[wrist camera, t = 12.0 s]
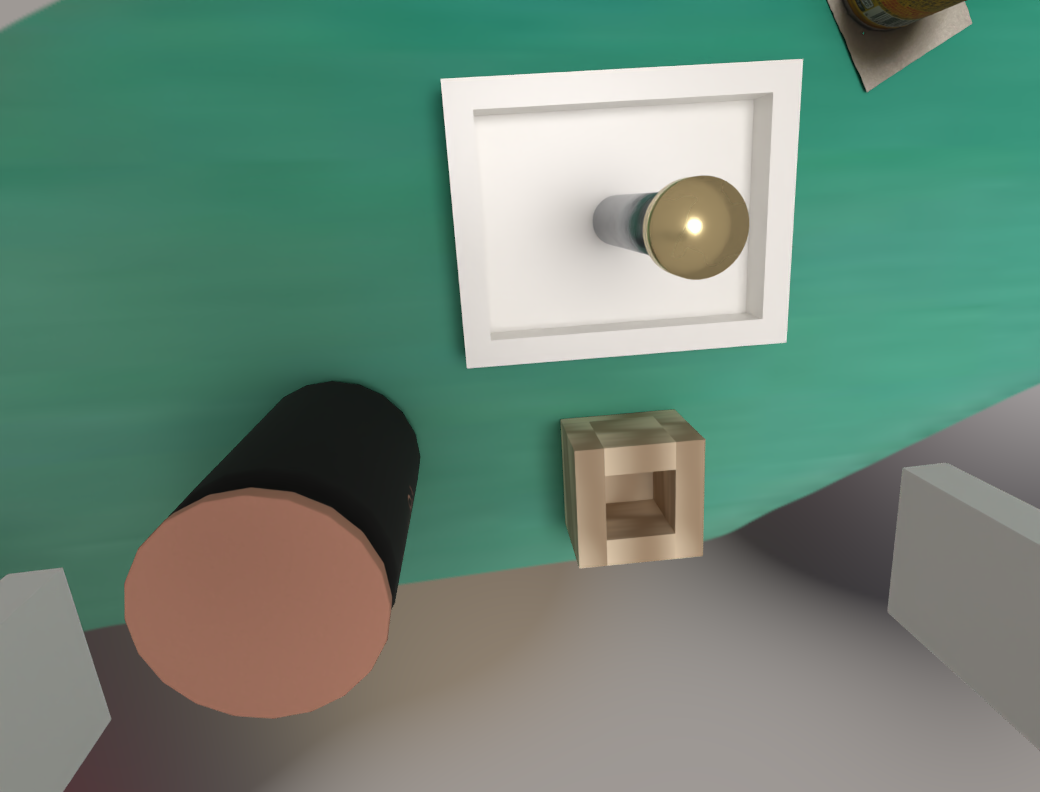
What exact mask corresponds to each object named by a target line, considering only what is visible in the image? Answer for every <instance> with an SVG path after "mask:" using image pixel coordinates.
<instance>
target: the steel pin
mask: <svg viewBox="0 0 1040 792" xmlns="http://www.w3.org/2000/svg"><path fill="white" fill-rule="evenodd" d="M593 228H594V231H595V233H596V235H597V236H598V238H599V239H600V240H602V241H603V242H605V243H607V244H609V245H613V246H617V247H620V248H624V249H628V250H631V251H635V252H639V253H642V254H646V255H649V256H650V257H651V259H652V260H653V261H654V263H655V264H656V265H657V266H659V267H660V268H661V269H662V270H664V271H666V272H668V273H670V274H673V275H676V276H679V277H682V278H685V279H691V280H700V279H706V278H710V277H713V276H715V275H718V274H719V273H721V272H723V271H724V270H726V269H727V268H728V267H730V266H731V265H732V264H733V263H734V262H735V260H736V259H737V258H738V257H739V255H740V254H741V252H742V250H743V248H744V246H745V244H746V241H747V237H748V233H749V213H748V209H747V206H746V203H745V201H744V199H743V197H742V196H741V194H740V193H739V192H738V190H737V189H736V188H735V187H734V186H733V185H731V184H730V183H728V182H727V181H725V180H723V179H721V178H718V177H714V176H705V175H701V176H693V177H686V178H682V179H678V180H676V181H673V182H671V183H670V184H668V185H666V186H665V187H664V188H663V189H661V190H660V191H659V192H652V193H638V194H624V195H613V196H610V197H607V198H605V199H604V200H603V201H601V202H600V203H599V205H598V206H597V208H596V209H595V212H594V215H593Z"/></svg>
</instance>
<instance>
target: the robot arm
mask: <svg viewBox="0 0 1040 792" xmlns="http://www.w3.org/2000/svg"><path fill="white" fill-rule="evenodd" d="M888 613H889V614H890V615H891V616H892V617H893V618H895V619H896V620H897V621H898V622H899V623H900V624H901V625H902V626H903V627H904V628H906V629H907V630H908V631H909V632H910V633H911V634H912V635H913V636H914V637H915V638H917V639H918V640H919V641H920V642H921V643H922V644H923V645H924V646H925V647H926V648H928V649H929V650H930V651H931V652H932V653H933V654H934V655H935V656H936V657H937V658H938V659H940V660H941V661H942V662H943V663H944V664H945V665H946V666H947V667H948V668H950V669H951V670H952V671H953V672H954V673H955V674H956V675H957V676H958V677H959V678H960V679H962V680H963V681H964V682H965V683H966V684H967V685H968V686H969V687H970V688H971V689H973V690H974V691H975V692H976V693H977V694H978V695H979V696H980V697H981V698H982V699H984V700H985V701H986V702H987V703H988V704H989V705H990V706H991V707H992V708H993V709H994V710H996V711H997V712H998V713H999V714H1000V715H1001V716H1002V717H1003V718H1004V719H1005V720H1007V721H1008V722H1009V723H1010V724H1011V725H1012V726H1013V727H1014V728H1015V729H1016V730H1018V731H1019V732H1020V733H1021V734H1022V735H1023V736H1024V737H1025V738H1026V739H1028V741H1030V742H1031V743H1032V744H1033V745H1034V746H1035V747H1036V748H1037V749H1038V750H1040V510H1039V509H1037V508H1035V507H1033V506H1031V505H1029V504H1027V503H1025V502H1023V501H1022V500H1020V499H1017V498H1016V497H1014V496H1011V495H1010V494H1008V493H1006V492H1004V491H1001V490H999V489H998V488H996V487H994V486H992V485H990V484H988V483H985V482H984V481H982V480H980V479H978V478H976V477H974V476H972V475H970V474H968V473H966V472H963V471H962V470H960V469H958V468H956V467H954V466H952V465H950V464H948V463H940V464H932V465H923V466H915V467H906V468H903V471H902V479H901V489H900V498H899V508H898V518H897V527H896V536H895V545H894V555H893V564H892V574H891V583H890V593H889V603H888ZM110 721H111V716H110V714H109V710H108V708H107V704H106V701H105V698H104V695H103V692H102V688H101V685H100V682H99V679H98V676H97V673H96V670H95V667H94V663H93V660H92V657H91V654H90V651H89V648H88V645H87V642H86V639H85V635H84V632H83V629H82V626H81V623H80V620H79V617H78V614H77V611H76V607H75V604H74V601H73V598H72V595H71V592H70V589H69V586H68V583H67V579H66V576H65V573H64V570H63V568H55V569H47V570H38V571H30V572H21V573H13V574H7V575H6V576H5V577H4V578H2V579H1V580H0V792H63V791H64V789H65V788H66V786H67V785H68V783H69V782H70V781H71V779H72V777H73V776H74V775H75V773H76V772H77V770H78V769H79V767H80V766H81V764H82V763H83V761H84V760H85V758H86V757H87V755H88V753H89V752H90V751H91V749H92V748H93V746H94V744H95V743H96V742H97V740H98V739H99V737H100V735H101V734H102V732H103V731H104V730H105V728H106V726H107V725H108V724H109V722H110Z"/></svg>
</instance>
